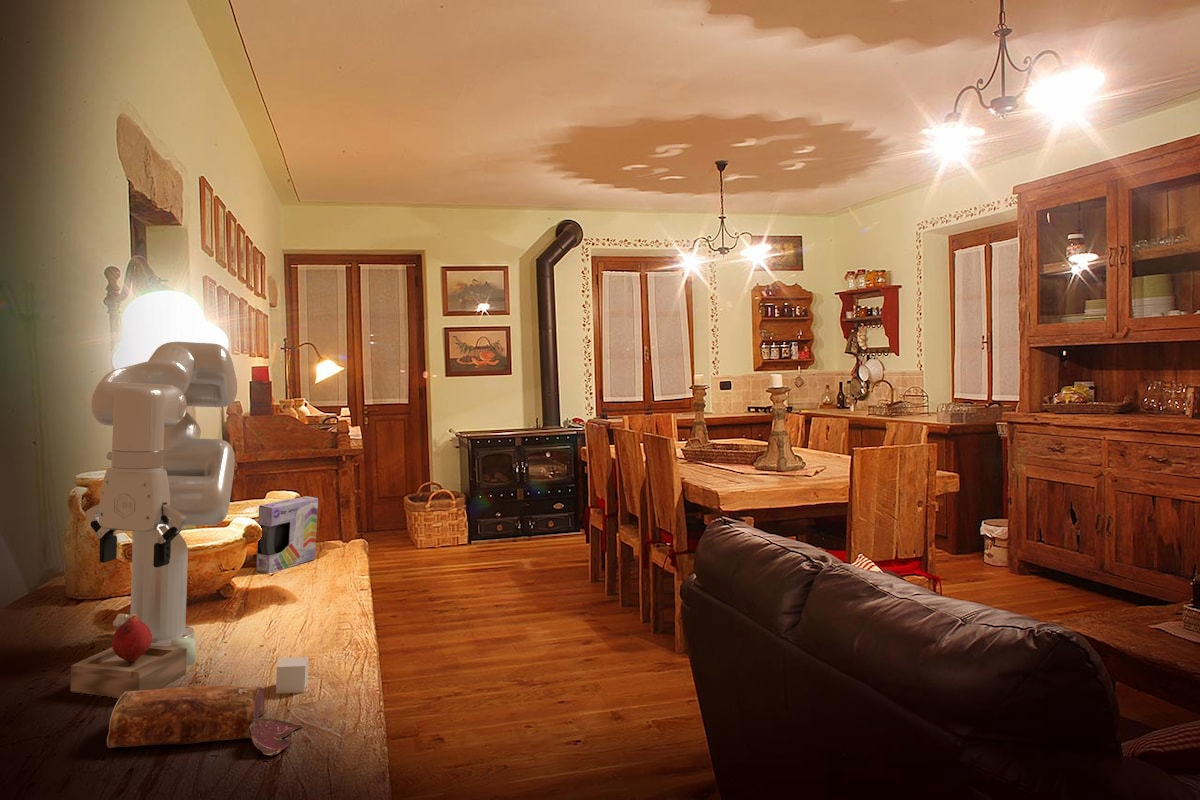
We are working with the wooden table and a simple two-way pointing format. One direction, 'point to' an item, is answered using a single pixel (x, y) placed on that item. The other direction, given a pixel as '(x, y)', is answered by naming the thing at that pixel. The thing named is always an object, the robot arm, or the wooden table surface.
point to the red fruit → (131, 639)
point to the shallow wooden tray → (128, 671)
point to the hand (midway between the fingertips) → (134, 563)
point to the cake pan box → (287, 533)
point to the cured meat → (196, 718)
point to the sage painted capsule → (185, 643)
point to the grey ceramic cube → (292, 675)
